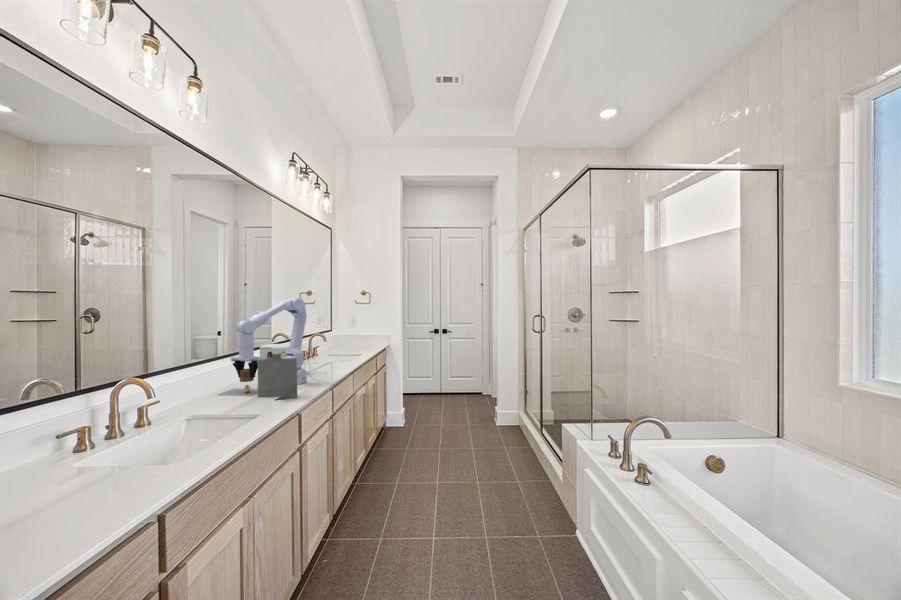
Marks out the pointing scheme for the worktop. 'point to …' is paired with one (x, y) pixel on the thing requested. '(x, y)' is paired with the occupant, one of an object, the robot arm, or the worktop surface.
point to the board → (239, 392)
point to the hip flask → (277, 377)
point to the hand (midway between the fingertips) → (246, 377)
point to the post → (246, 389)
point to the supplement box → (273, 350)
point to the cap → (245, 375)
